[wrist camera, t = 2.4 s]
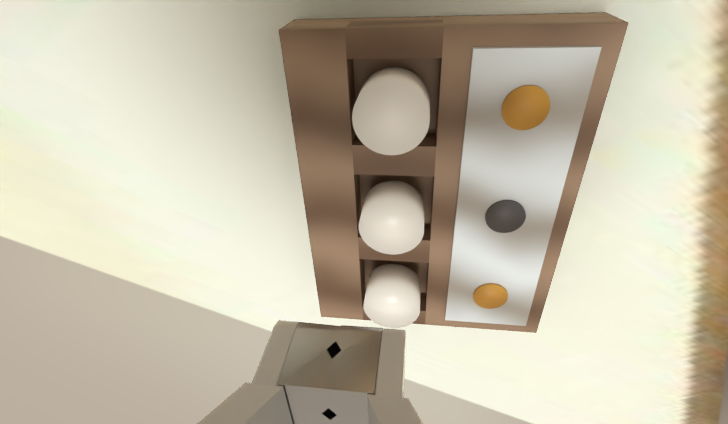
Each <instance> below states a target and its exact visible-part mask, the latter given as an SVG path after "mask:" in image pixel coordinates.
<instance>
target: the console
mask: <svg viewBox="0 0 728 424" xmlns="http://www.w3.org/2000/svg"><path fill="white" fill-rule="evenodd" d="M627 26H628V22H625V21H623V20H621V19H619V18H617V17H614V16H612V15H610V14H608V13H563V14H520V15H477V16H434V17H392V18H349V19H306V20H293V21H292V22H290V23H289V24H287V25H286V26H284V27H282V28H281V29H279V35H280V41H281V48H282V55H283V62H284V68H285V75H286V82H287V89H288V96H289V102H290V109H291V116H292V123H293V129H294V136H295V143H296V150H297V156H298V163H299V170H300V177H301V183H302V190H303V197H304V204H305V210H306V217H307V224H308V231H309V238H310V244H311V251H312V258H313V265H314V271H315V278H316V285H317V292H318V298H319V305H320V312H321V317H334V318H348V319H361V320H371V319H370V318H369V317H368V316H367V315H366V313H365V311H364V307H363V305H364V299H365V293H366V287H367V282H368V277H369V275H370V273H371V272H372V271H373V270H374V269H375V268H377V267H379V266H381V265H385V264H399V265H403V266H406V267H408V268H410V269H411V270H413V271H414V272H415V273H416V274H417V276H418V277H419V279H420V283H421V289H420V314H419V316H418V318H417V319H416V320H415V321H414V322H413V323H414V324H428V325H441V326H454V327H468V328H481V329H495V330H508V331H521V332H535V333H536V332H537V328H538V325H539V322H540V318H541V315H542V311H543V308H544V305H545V301H546V298H547V295H548V291H549V288H550V285H551V281H552V278H553V275H554V271H555V268H556V264H557V261H558V258H559V254H560V251H561V248H562V244H563V241H564V238H565V234H566V231H567V228H568V224H569V221H570V217H571V214H572V211H573V207H574V204H575V201H576V197H577V194H578V191H579V187H580V184H581V181H582V177H583V174H584V170H585V167H586V164H587V160H588V157H589V154H590V150H591V147H592V144H593V140H594V137H595V134H596V130H597V127H598V123H599V120H600V117H601V113H602V110H603V107H604V103H605V100H606V97H607V93H608V90H609V87H610V83H611V80H612V76H613V73H614V70H615V66H616V63H617V60H618V56H619V53H620V50H621V46H622V43H623V40H624V36H625V33H626V29H627ZM388 67H400V68H404V69H407V70H410V71H412V72H413V73H415V74H416V75H417V76H418V77H420V78H421V80H422V81H423V82H424V84H425V85H426V87H427V90H428V93H429V98H430V123H429V128H428V131H427V134H426V136H425V137H424V139H423V140H422V142H421V143H420V144H419V145H418V146H417V147H415V148H414V149H412V150H411V151H409V152H406V153H403V154H400V155H383V154H380V153H376V152H374V151H372V150H371V149H369V148H367V147H366V146H365V145H364V144H363V143H362V142H361V141H360V140H359V138H358V137H357V135H356V133H355V131H354V128H353V123H352V112H353V108H354V105H355V102H356V100H357V98H358V95H359V93H360V91H361V88H362V86H363V84H364V83H365V81H366V80H367V79H368V78H369V77H370V76H371V75H372V74H374V73H375V72H377V71H379V70H381V69H384V68H388ZM393 180H394V181H401V182H405V183H407V184H409V185H411V186H413V187H414V188H415V189H416V190H417V191H418V192H419V193H420V194H421V196H422V198H423V201H424V235H423V238H422V240H421V242H420V243H419V244H418V245H417V246H416V247H415V248H414V249H412V250H411V251H408V252H406V253H402V254H396V255H391V254H384V253H381V252H378V251H376V250H374V249H372V248H371V247H369V246H368V245H367V244H366V243H365V242H364V241H363V239H362V238H361V235H360V233H359V220H360V216H361V212H362V208H363V204H364V200H365V197H366V195H367V193H368V192H369V190H370V189H371V188H372V187H374V186H375V185H377V184H379V183H381V182H385V181H393Z"/></svg>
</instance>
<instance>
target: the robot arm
mask: <svg viewBox="0 0 728 424" xmlns="http://www.w3.org/2000/svg"><path fill="white" fill-rule="evenodd" d="M404 374H405V330H396V329H383V328H374V327H357V326H333V325H323V324H313V323H303V322H292V321H280V320H279V321H278V322H277V323H276V325H275V326H274V328H273V330H272V333H271V335H270V338H269V340H268V343H267V346H266V348H265V351H264V353H263V356H262V358H261V361H260V363H259V366H258V368H257V371H256V374H255V376H254V378H253V381H252V383H244V384H243V385H242V386H241V387H240V388H239V389H238V390H236V391H235V392H234V393H233V394H231V395H230V396H229V397H228V398H227V399H226V400H224V401H223V402H222V403H221V404H220V405H219V406H217V407H216V408H215V409H214V410H213V411H211V412H210V414H208V415H207V416H206V417H205V418H203V419H202V420H201V421H200V422H199V423H197V424H423V423H422V421H421V419H420V418H419V416H418V414H417V412H416V411H415V409H414V407H413V405H412V404H411V402H410V400H409V398H404Z"/></svg>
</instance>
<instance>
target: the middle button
mask: <svg viewBox="0 0 728 424" xmlns="http://www.w3.org/2000/svg"><path fill="white" fill-rule="evenodd" d="M359 233H360V235H361V238H362V239H363V241H364V242H365V243H366V244H367V245H368V246H369V247H371V248H372V249H374V250H376V251H378V252H381V253H384V254H391V255H396V254H402V253H406V252H408V251H411V250H412V249H414V248H415V247H416V246H417V245H418V244H419V243H420V242H421V240H422V238H423V235H424V201H423V198H422V196H421V194H420V193H419V192H418V191H417V190H416V189H415V188H414V187H413V186H411V185H409V184H407V183H405V182H401V181H394V180H393V181H385V182H381V183H379V184H377V185H375V186H374V187H372V188H371V189H370V190H369V192H368V193H367V195H366V197H365V200H364V204H363V208H362V212H361V216H360V220H359Z"/></svg>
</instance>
